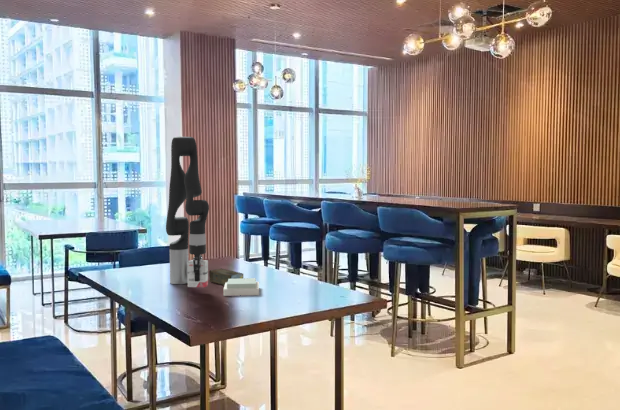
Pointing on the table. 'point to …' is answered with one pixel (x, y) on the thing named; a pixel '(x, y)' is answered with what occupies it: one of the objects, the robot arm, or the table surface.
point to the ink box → (203, 274)
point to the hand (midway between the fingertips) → (197, 279)
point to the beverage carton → (223, 275)
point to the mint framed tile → (241, 287)
